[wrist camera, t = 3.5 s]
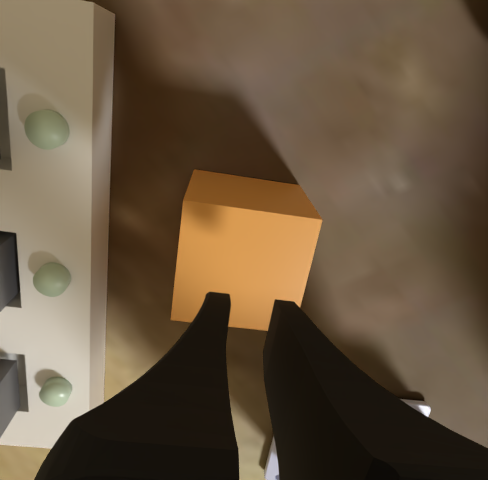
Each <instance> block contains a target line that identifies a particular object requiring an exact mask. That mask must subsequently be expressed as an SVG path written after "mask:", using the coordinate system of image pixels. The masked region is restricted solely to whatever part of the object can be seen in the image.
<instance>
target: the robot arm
mask: <svg viewBox="0 0 488 480" xmlns="http://www.w3.org/2000/svg"><path fill="white" fill-rule="evenodd" d="M230 309H231V299H230V294H227V293H218V292H208V293H207V294H206V296H205V299H204V302H203V304H202V306H201V308H200V310H199V312H198V314H197V315H196V317H195V318H194V320H193V321H192V323H191V324H190V326H189V327H188V329H187V330H186V331H185V332H184V334H183V335H182V336H181V337H180V339H179V340H178V341H177V342H176V344H175V345H174V346H173V347H172V348H171V349H170V350H169V351H168V352H167V353H166V354H165V355H164V356H163V357H162V358H161V359H160V360H159V361H158V362H157V363H156V364H155V365H154V366H153V367H152V368H151V369H149V370H148V371H147V372H146V373H145V374H144V375H142V376H141V377H140V378H139V379H137V380H136V381H135V382H134V383H132V384H131V385H129V386H128V387H126V388H125V389H124V390H122V391H121V392H119V393H118V394H116V395H115V396H114V397H112V398H111V399H109V400H107V401H106V402H104V403H103V404H101V405H99V406H97V407H95V408H94V409H92V410H90V411H88V412H86V413H84V414H83V415H81V416H79V417H77V418H75V419H73V420H72V421H71V422H70V423H69V425H68V426H67V427H66V429H65V430H64V431H63V433H62V434H61V436H60V437H59V438H58V440H57V441H56V443H55V444H54V446H53V447H52V449H51V450H50V452H49V454H48V455H47V457H46V459H45V460H44V462H43V463H42V465H41V467H40V469H39V471H38V473H37V475H36V477H35V479H34V480H239V454H238V446H237V442H236V437H235V432H234V426H233V420H232V415H231V407H230V399H229V391H228V379H227V366H226V339H227V331H228V324H229V317H230ZM263 365H264V382H265V388H266V394H267V400H268V406H269V411H270V417H271V423H272V428H273V434H274V436H273V440H272V444H271V447H270V451H269V455H268V459H267V463H266V466H265V470H264V476H265V479H267V480H488V448H486V447H484V446H482V445H480V444H478V443H476V442H474V441H472V440H470V439H468V438H466V437H464V436H462V435H460V434H458V433H456V432H454V431H452V430H450V429H448V428H446V427H445V426H443V425H441V424H439V423H438V422H436V421H434V420H432V419H431V418H429V417H428V416H429V413H430V411H431V408H430V406H429V404H428V403H427V402H425V401H416V400H406V399H399V398H397V397H396V396H395V395H393V394H392V393H390V392H389V391H387V390H386V389H385V388H383V387H382V386H380V385H379V384H378V383H376V382H375V381H374V380H373V379H372V378H370V377H369V376H368V375H367V374H365V373H364V372H363V371H362V370H360V369H359V368H358V367H357V366H356V365H355V364H353V363H352V362H351V361H350V360H349V359H348V358H347V357H346V356H345V355H344V354H343V353H342V352H341V351H339V350H338V349H337V348H336V347H335V346H334V345H333V344H332V343H331V342H330V341H329V340H328V338H327V337H326V336H325V335H324V334H323V333H322V332H321V331H320V330H319V329H318V328H317V327H316V326H315V324H314V323H313V322H312V321H311V320H310V319H309V318H308V316H307V315H306V314H305V313H304V312H303V311H302V310H301V309H300V307H299V306H298V305H297V304H296V303H295V302H294V301H285V300H277V299H275V301H274V305H273V310H272V314H271V319H270V323H269V328H268V332H267V337H266V341H265V346H264V350H263Z"/></svg>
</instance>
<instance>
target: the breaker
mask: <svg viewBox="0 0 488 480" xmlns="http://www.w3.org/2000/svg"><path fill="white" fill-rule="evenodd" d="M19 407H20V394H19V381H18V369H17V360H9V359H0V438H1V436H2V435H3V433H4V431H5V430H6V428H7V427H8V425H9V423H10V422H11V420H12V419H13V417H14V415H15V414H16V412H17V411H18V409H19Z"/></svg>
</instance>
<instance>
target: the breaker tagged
mask: <svg viewBox="0 0 488 480" xmlns="http://www.w3.org/2000/svg"><path fill="white" fill-rule="evenodd" d="M19 292H20V278H19V263H18V249H17V235H16V233H13V232H5V231H0V312H1V311H2V310H3V309H4V308H5V307H6V306H7V304H8V303H9V302H10V301H11V300H12V299H13V298H14V297H15V296H16V295H17V294H18V293H19Z"/></svg>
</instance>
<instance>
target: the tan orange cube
mask: <svg viewBox="0 0 488 480" xmlns="http://www.w3.org/2000/svg"><path fill="white" fill-rule="evenodd" d="M321 224H322V218H321V217H320V215H319V214H318V212H317V211H316V209H315V208H314V206H313V205H312V203H311V202H310V200H309V199H308V197H307V196H306V194H305V193H304V191H303V190H302V188H301V187H300V185H296V184H289V183H282V182H276V181H269V180H262V179H256V178H249V177H242V176H236V175H229V174H222V173H216V172H209V171H202V170H196V169H194V171H193V174H192V176H191V179H190V182H189V185H188V188H187V191H186V194H185V196H184V199H183V207H182V216H181V226H180V235H179V245H178V254H177V264H176V273H175V283H174V292H173V302H172V311H171V320H174V321H183V322H192V321H193V320H194V318H195V317H196V315H197V314H198V312H199V310H200V308H201V306H202V304H203V302H204V299H205V296H206V294H207V293H208V292H218V293H227V294H230V299H231V309H230V317H229V324H228V327H237V328H246V329H255V330H264V331H268V328H269V323H270V319H271V314H272V310H273V305H274V301H275V299H277V300H285V301H294V302H295V303H296V304H297V305H298V306H299V307H300V306H301V302H302V298H303V294H304V291H305V287H306V283H307V279H308V275H309V271H310V267H311V263H312V259H313V255H314V251H315V247H316V244H317V240H318V236H319V232H320V228H321Z"/></svg>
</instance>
